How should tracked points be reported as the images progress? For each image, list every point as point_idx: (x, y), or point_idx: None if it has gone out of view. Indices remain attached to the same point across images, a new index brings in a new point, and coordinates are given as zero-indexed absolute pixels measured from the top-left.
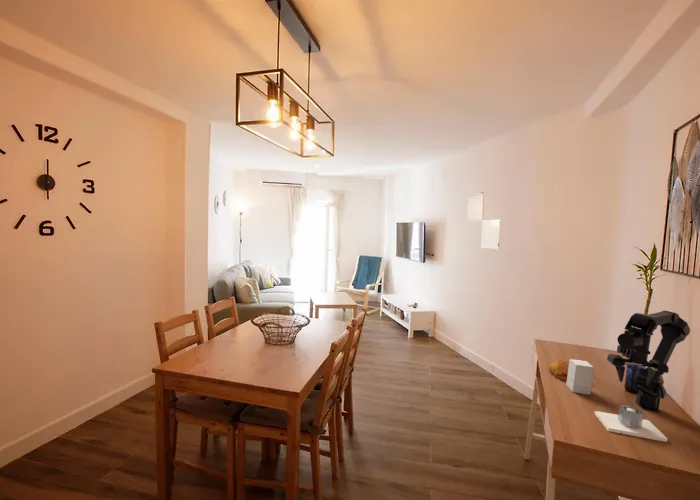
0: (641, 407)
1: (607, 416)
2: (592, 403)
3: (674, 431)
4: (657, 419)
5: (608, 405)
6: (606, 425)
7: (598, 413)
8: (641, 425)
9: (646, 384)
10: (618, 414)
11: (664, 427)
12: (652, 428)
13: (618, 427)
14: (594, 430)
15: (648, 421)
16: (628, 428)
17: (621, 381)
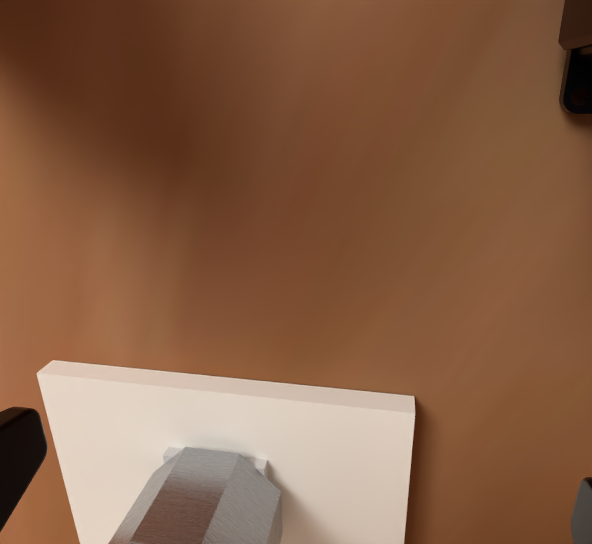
0: (562, 81)
1: (105, 429)
2: (62, 180)
3: (577, 466)
4: (571, 304)
5: (194, 164)
6: (76, 527)
7: (53, 406)
8: (280, 538)
9: (585, 502)
10: (136, 500)
11: (528, 426)
12: (369, 517)
13: None
14: (29, 535)
15: (401, 433)
16: None
17: (29, 468)
